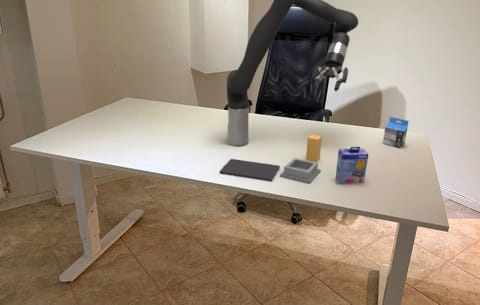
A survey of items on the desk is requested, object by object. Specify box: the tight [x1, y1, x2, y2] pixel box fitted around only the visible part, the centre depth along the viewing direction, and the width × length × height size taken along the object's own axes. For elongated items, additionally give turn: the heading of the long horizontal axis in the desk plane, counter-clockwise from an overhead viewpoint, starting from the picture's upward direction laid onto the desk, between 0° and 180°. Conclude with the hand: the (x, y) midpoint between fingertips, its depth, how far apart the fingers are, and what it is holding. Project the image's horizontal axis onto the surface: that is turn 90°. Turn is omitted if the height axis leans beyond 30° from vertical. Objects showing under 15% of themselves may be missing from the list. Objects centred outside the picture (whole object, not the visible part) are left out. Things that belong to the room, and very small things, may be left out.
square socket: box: [279, 157, 322, 185], centre depth 153 cm, size 12×12×4 cm
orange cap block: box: [305, 133, 323, 163], centre depth 165 cm, size 4×4×10 cm
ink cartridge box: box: [335, 146, 369, 185], centre depth 146 cm, size 10×6×14 cm, turn 95°
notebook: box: [219, 158, 281, 183], centre depth 156 cm, size 13×2×21 cm
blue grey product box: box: [382, 116, 409, 149], centre depth 179 cm, size 9×4×12 cm, turn 47°
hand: (325, 89), depth 165 cm, fingers open, 8 cm apart
